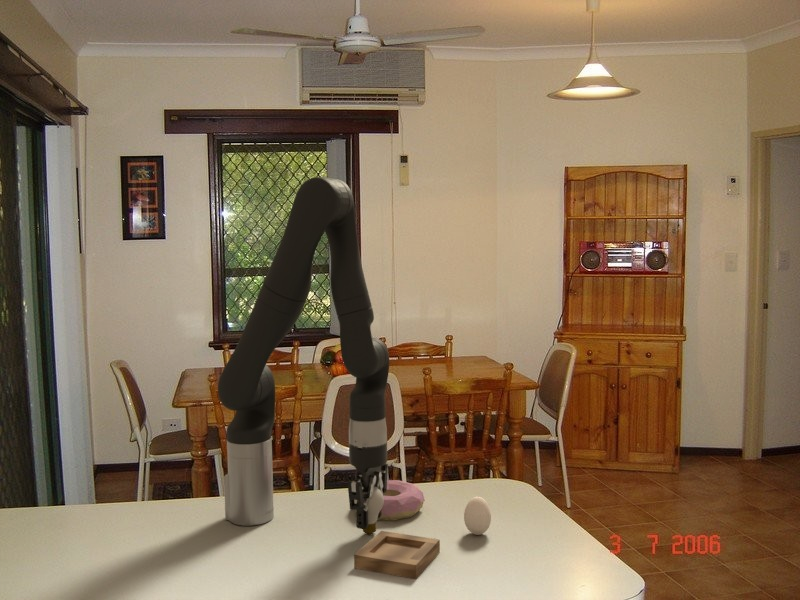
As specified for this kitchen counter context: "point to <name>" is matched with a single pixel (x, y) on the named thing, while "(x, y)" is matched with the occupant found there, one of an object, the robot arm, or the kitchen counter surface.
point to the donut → (401, 500)
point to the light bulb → (373, 510)
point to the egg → (477, 516)
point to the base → (397, 554)
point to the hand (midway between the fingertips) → (369, 522)
